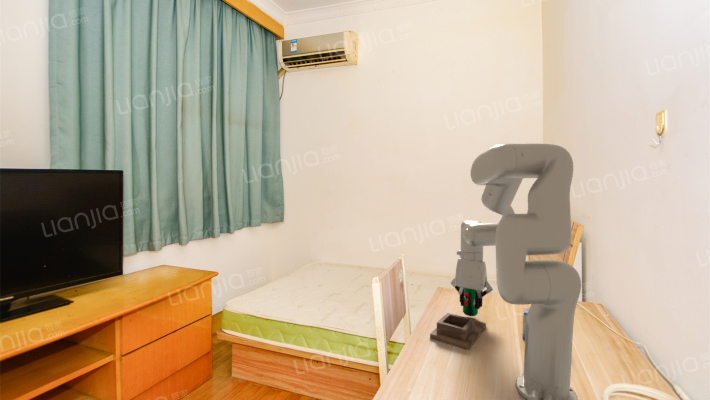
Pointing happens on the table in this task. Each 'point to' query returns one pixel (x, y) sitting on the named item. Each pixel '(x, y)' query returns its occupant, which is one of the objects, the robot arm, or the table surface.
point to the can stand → (458, 330)
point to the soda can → (469, 302)
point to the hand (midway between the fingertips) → (470, 305)
